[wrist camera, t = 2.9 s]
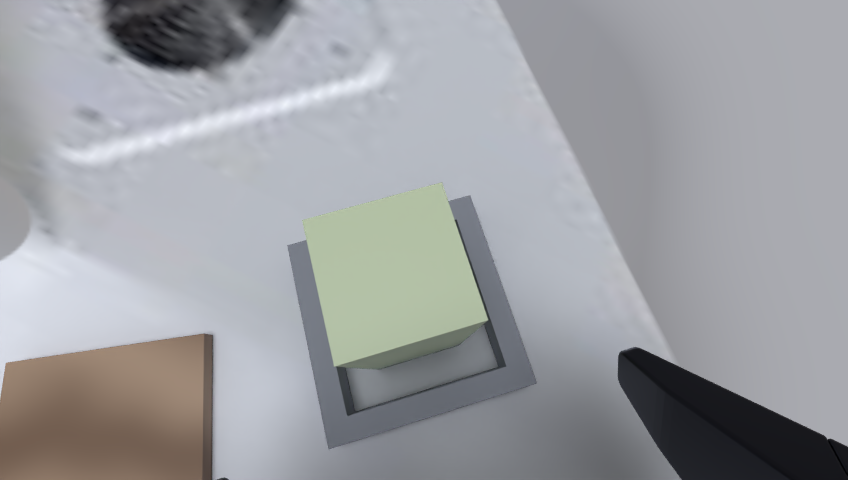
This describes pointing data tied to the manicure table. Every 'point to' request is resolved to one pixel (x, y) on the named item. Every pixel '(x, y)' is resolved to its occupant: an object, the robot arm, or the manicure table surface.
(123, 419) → the walnut pad
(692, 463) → the robot arm
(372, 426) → the gray square frame
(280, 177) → the manicure table surface
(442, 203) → the olive block
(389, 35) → the manicure table surface
